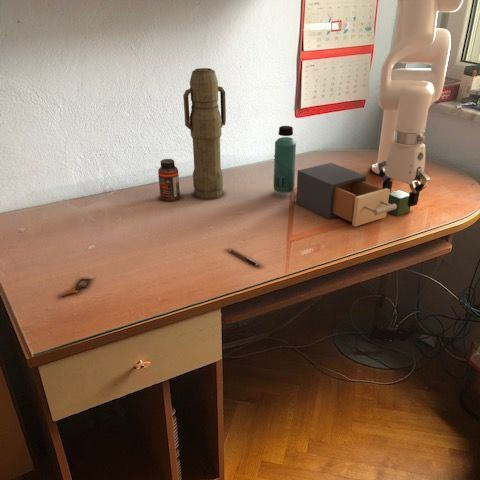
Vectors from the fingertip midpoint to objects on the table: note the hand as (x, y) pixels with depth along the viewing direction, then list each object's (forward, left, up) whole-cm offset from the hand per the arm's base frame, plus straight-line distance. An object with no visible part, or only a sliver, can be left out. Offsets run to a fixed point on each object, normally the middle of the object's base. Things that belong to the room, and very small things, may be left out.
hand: (398, 200), depth 149 cm
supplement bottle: (+48, -46, -4) cm, 67 cm away
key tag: (+90, -9, -3) cm, 90 cm away
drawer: (+13, -2, -2) cm, 13 cm away
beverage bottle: (+18, -29, -4) cm, 34 cm away
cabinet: (+13, -14, -3) cm, 19 cm away
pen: (+52, 0, -4) cm, 52 cm away
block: (0, 0, -3) cm, 3 cm away
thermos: (+37, -42, -4) cm, 56 cm away
